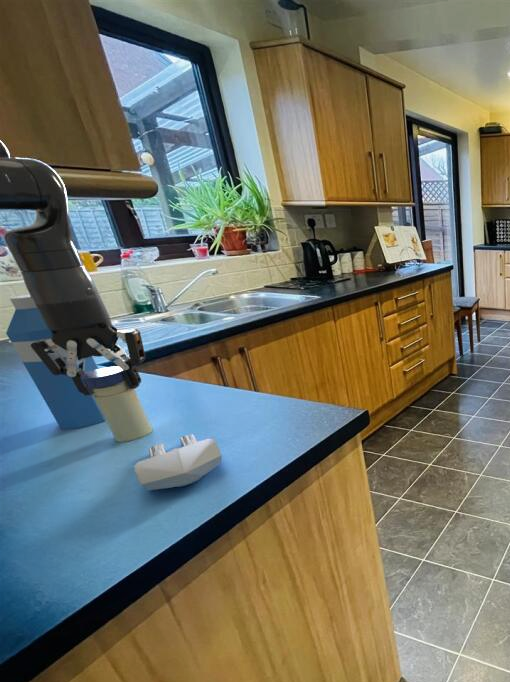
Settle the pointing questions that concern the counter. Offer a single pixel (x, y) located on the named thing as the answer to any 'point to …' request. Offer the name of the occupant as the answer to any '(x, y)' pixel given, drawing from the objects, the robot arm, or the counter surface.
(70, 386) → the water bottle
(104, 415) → the jar
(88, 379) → the lid
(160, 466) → the white elongated knobbed piece
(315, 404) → the counter surface
